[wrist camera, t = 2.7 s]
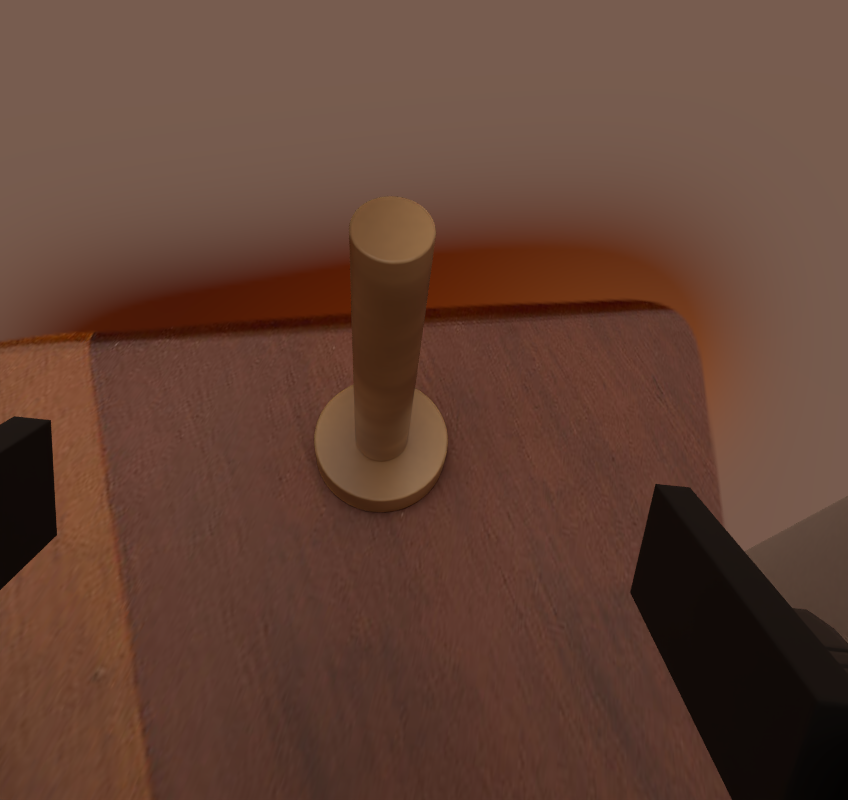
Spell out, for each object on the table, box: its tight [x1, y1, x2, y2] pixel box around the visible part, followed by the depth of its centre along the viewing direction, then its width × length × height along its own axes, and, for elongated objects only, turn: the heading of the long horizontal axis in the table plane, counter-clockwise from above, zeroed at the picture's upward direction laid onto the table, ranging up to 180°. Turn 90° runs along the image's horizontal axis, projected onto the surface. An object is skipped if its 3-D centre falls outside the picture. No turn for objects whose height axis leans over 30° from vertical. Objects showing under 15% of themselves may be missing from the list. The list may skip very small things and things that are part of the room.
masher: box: [314, 196, 448, 512], centre depth 24 cm, size 6×6×14 cm
